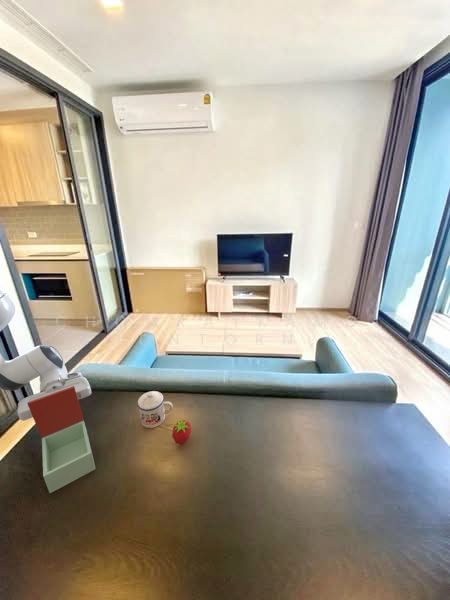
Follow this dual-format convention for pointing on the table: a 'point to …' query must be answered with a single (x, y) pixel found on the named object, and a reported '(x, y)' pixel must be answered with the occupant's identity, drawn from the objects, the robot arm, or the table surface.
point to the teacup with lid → (152, 409)
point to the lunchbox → (66, 456)
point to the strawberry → (181, 432)
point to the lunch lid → (56, 411)
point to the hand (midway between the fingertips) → (58, 412)
